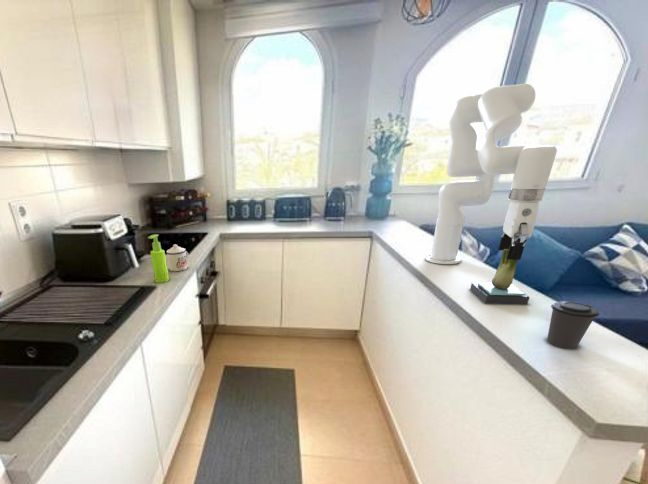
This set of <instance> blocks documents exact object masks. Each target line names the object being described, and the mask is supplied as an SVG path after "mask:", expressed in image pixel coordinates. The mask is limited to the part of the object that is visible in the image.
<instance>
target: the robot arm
mask: <svg viewBox="0 0 648 484" xmlns="http://www.w3.org/2000/svg"><path fill="white" fill-rule="evenodd" d="M535 100H536V90H535V87H533V85H532V84H530V83H519V84H518V83H517V84H508V85H499V86H495V87H492V88H489V89H488V90H486V91H485V92H483V93H481V94H473V95H472V94H471V95H468V96H464V97H462V98H460V99H458V100H457V101H456V102H455V103H454V104H453V105H452V108H451V111H450V114H449V122H448V123H449V132H450V143H449V144H450V145H449V151H448V158H447V165H446V173H447V175H448V176H449V177H450V178H473V177H475V179H473V180H456V181H455V180H454V181H450V182H446V183H445V184H443V185H442V186H441V187H440V189H439V191H438V195H437V196H438V197H437V199H438V208H437V218H436V223H435V229H434V234H433V240H432V247H431V252H430V254H428V255H427V256H426V257H425V260H426V261H427V262H429V263H433V264H437V265H455V264H459V263H461V260H462V258H461V257H460V256H458V253H459V248H460V244H461V239H462V234H463V229H464V224H465V215H464V212H463V211H462V210H461V208H462V207H463V208H464V207H475V206H476V207H477V206H482V205H485V204H487V203H488V202H489V200H490V198H491V196H492V193H493V189H494V185H495V177H496V176H498V175H513V177H512V181H511V185H510V188H509V192H508V196H507V201H508V202H509V205H508V208H507V211H506V215H505V217H504V221H503V226H502V234H501V237H500V241H499V244H498V250H499V251H503V250H504V249H509V251H508V254H507V259H508V260H518V261H520V260H521V259H522V256H523V253H524V250H525V247H526V242H527V241H528V240H527V239H530V238H532V236H533V232H534V229H535V226H536V225H535V224H536V220H537V216H538V212H539V204H540V202H542V201H543V198H544V195H545V191H546V188H547V185H548V182H549V178H550V175H551V172H552V169H553V166H554V162H555V160H556V156H557V153H558V152H557V151H558V150H557V149H558V148H557V147H556V146H555V145H541V144H534V143H532V144H531V143H530V144H516V145H515V144H514V145H503V146H499V145H497V142H499V141H502V140H504V139H506V138H508V137H510V136H511V135H513V134H514V133H515V132H516V131H517V130H518V129H519V128H520V127H521V125H522V122H523V114H525V113H527V112H528V111H530V110H531V108H532V107H533V105H534V103H535ZM473 123H483V125H484V127H485V132H484V133H483V135H482V136H481V138H480V140H479V134H478V131H477V129H476V127H475V126H474V125H473ZM478 140H479V141H478ZM478 142H479V143H478Z"/></svg>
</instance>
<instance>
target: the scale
mask: <svg viewBox="0 0 648 484" xmlns="http://www.w3.org/2000/svg"><path fill="white" fill-rule="evenodd" d="M478 283H479V282H471V283H470V289H469V290H470V291H471V292H472V293H473V295H474V296H476V297H477V298H478V299H479V300H480V301H481V302H483V304H486V305H522V306H523V305H527V306H528V304H529V300H530V295H528V294H526V295H525V296H521V295H490V294H489V293H487V292H486V291H485V290H484V289H483V288H482V287H480V286H479V285H478ZM480 283H492V281H480Z"/></svg>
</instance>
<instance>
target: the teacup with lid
mask: <svg viewBox="0 0 648 484" xmlns="http://www.w3.org/2000/svg"><path fill="white" fill-rule="evenodd" d="M165 254H166V255H167V263H168V268H169V269H168V270H169V271H171V272H181V271H185V270H187V269H188V261H187V260H188V259H189V252H188V251H187V250H186V248H184V247H181V246H178V244H176V243H175V244H173V245H172V247H170V248H169V249H167V250H166V253H165Z"/></svg>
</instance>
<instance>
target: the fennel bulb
mask: <svg viewBox="0 0 648 484" xmlns="http://www.w3.org/2000/svg"><path fill="white" fill-rule="evenodd" d="M508 251H509V249H504V250H502V254H501V258H500V262H499V265H498V266H497V269H496V271H495V274H494V276H493V277H492V280H491V282H492V285H493V286H494V287H496V288H499V289H508V288H509V287H510V286H511V284H512V285H513V280H514V277H515V274H516V268H517V264H518V261H519V260H508V259H507V254H508Z"/></svg>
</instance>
